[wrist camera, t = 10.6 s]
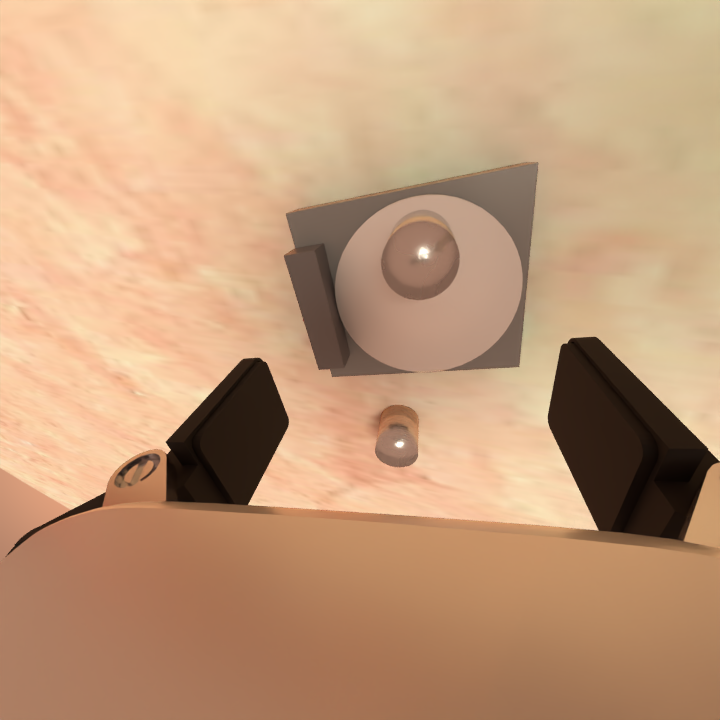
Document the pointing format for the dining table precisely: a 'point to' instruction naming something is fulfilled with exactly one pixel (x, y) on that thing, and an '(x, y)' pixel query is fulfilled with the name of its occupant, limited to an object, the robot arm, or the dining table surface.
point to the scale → (405, 316)
